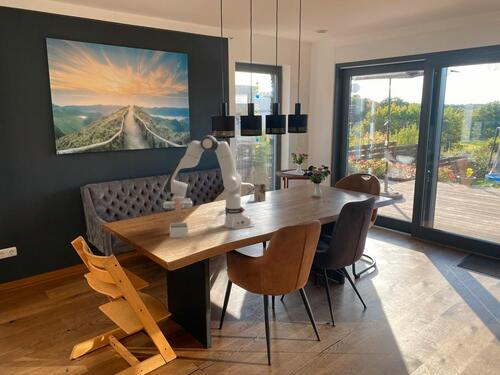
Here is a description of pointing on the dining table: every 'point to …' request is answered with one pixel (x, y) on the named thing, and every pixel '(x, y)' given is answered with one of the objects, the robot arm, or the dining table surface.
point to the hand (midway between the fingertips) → (177, 207)
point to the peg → (177, 208)
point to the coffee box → (259, 192)
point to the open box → (178, 230)
